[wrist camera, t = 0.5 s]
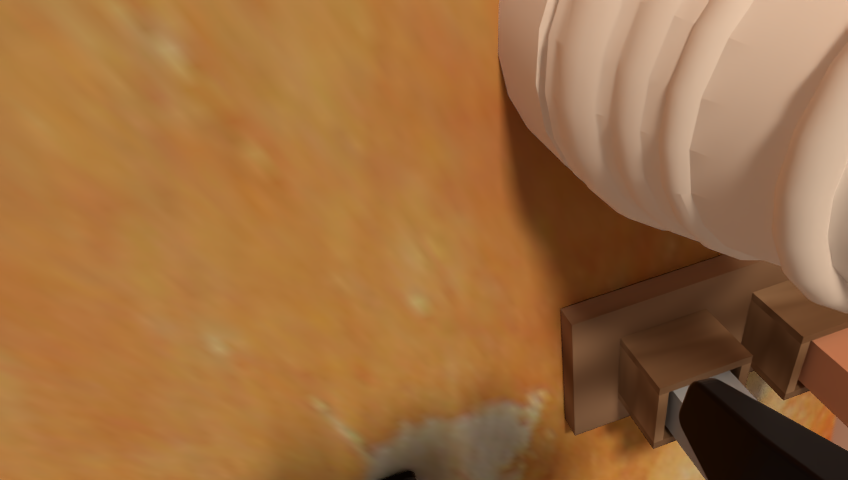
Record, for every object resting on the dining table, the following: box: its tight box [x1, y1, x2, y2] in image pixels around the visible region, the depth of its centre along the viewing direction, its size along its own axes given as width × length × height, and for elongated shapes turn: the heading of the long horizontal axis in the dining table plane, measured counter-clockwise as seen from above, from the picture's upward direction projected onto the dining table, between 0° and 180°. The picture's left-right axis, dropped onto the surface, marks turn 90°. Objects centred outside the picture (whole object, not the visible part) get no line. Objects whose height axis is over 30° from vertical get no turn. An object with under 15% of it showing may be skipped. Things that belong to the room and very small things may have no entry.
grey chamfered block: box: [665, 370, 757, 480], centre depth 28 cm, size 3×3×5 cm
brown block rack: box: [561, 254, 848, 449], centre depth 31 cm, size 9×25×5 cm, turn 101°
